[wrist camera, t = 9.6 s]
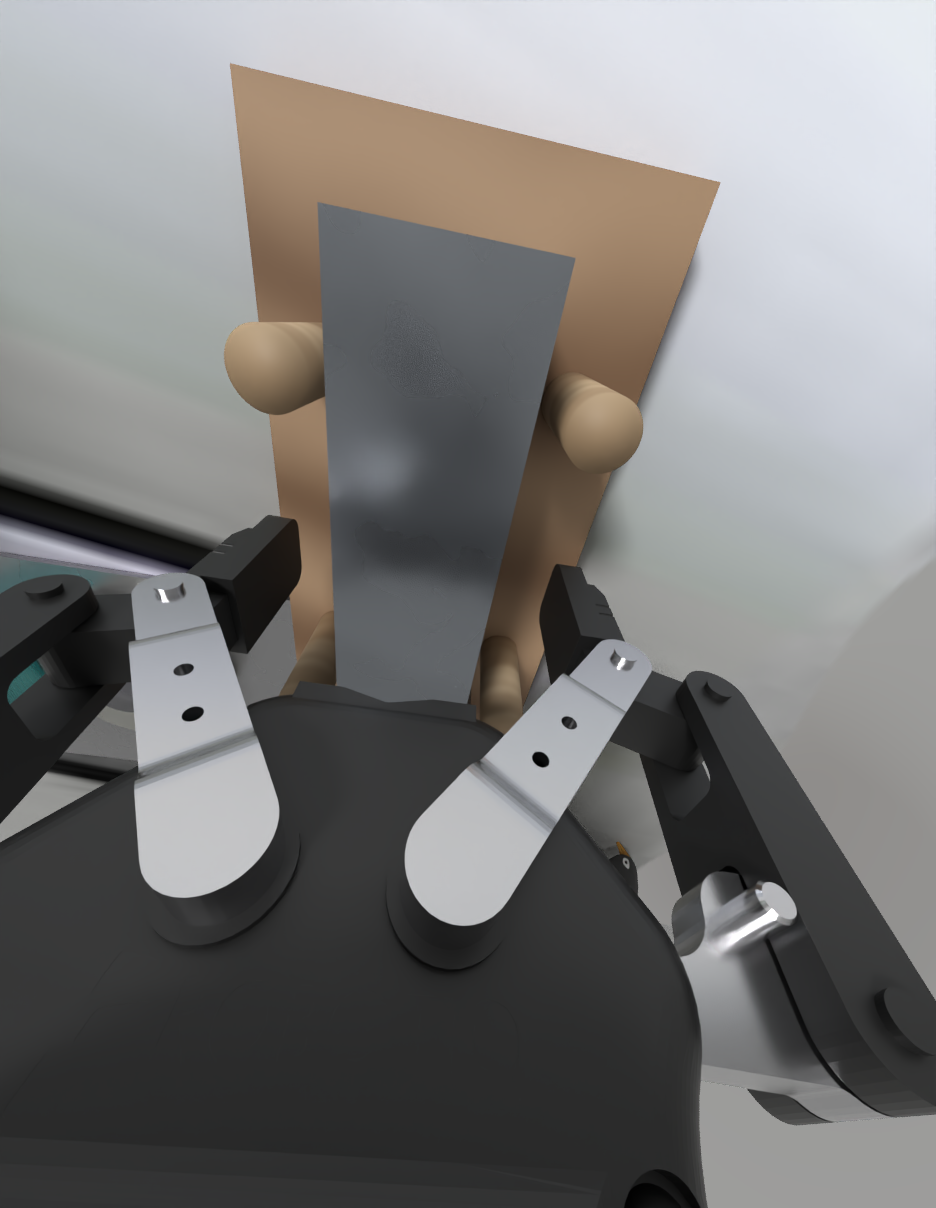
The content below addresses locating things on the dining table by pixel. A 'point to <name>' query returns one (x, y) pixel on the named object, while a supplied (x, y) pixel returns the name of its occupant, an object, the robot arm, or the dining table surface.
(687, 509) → the dining table surface
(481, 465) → the bar
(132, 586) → the gray base plate
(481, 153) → the peg rack
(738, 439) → the dining table surface
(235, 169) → the dining table surface
